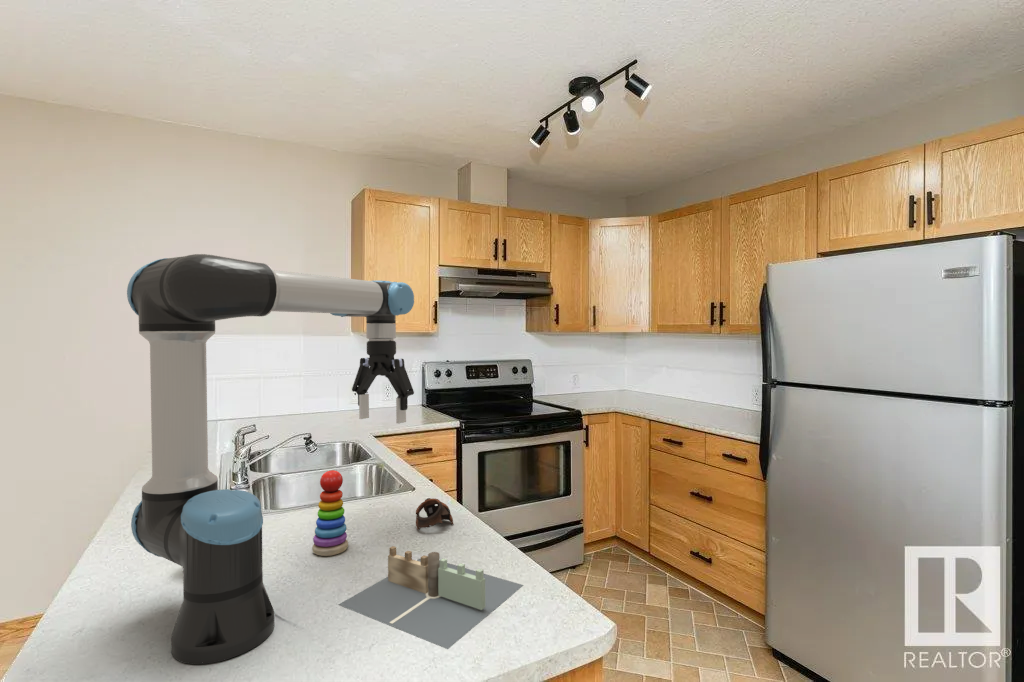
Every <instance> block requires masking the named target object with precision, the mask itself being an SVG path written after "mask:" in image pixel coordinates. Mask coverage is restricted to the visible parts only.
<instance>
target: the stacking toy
mask: <svg viewBox="0 0 1024 682" xmlns="http://www.w3.org/2000/svg"><path fill="white" fill-rule="evenodd" d="M343 478H344V477H343V475H342V473H341V472H339V471H337V470H328V471H326V472H324V473H323V474H322V475H321V477H320V478H319V479H320V481H319V484H320V487H321V489H322V490H323V491H321V493H320V494H319V499H320V501H319V502H318V508H319V509H318V510H317V518H316V521H315V525H316V527H315V530H314V536H313V538H312V542H313V545H312V549H311V550H312V552H313V553H314V554H315V555H317V556H320V557H321V556H323V557H330V556H336V555H339V554H341V553H343V552H346V550H347V548H348V547H349V542H348V540H347V538H348V534H347V532H346V531H347V525H346V523H345V522H346V517H345V516H344V515H345V508H344V507H343V506H344V501H343V499H342V498H343V492H342V490H340V489H341V487H342V485H343V481H344V479H343Z"/></svg>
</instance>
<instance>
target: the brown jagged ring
mask: <svg viewBox="0 0 1024 682" xmlns="http://www.w3.org/2000/svg"><path fill="white" fill-rule="evenodd" d="M422 510H424V512H425V514H426V516H425V517H424V516H423V517H422V516H421V515H420V512H422ZM415 515H416V516H415V517H416V518H415V526H416V529H417V530H418V529H419V530H420V529H423V528H425V529H426V528H430V527H432V526H434V525H436V524H439V523H440V524H443V521H444V520H445V521H449V522H450V523H451V525H452V524H453V525H454V518H453V516H452V514H451V510H450V507H449V506H448V505H447V504H446V503H444V502H442V501H441V500H440V499H439V498H429V497H428V498H426V499H424V501H423V502H421V503H420V504H419V505H418V507H417V508H416V510H415Z"/></svg>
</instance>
